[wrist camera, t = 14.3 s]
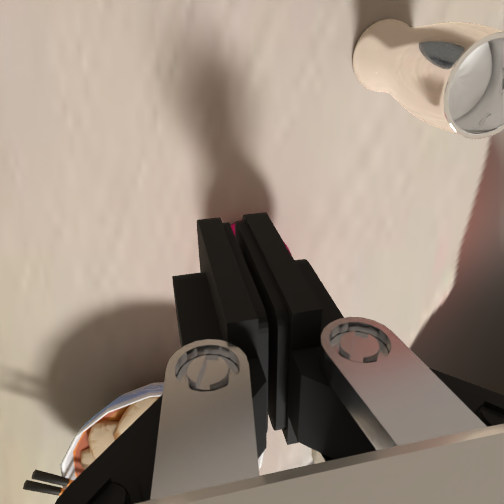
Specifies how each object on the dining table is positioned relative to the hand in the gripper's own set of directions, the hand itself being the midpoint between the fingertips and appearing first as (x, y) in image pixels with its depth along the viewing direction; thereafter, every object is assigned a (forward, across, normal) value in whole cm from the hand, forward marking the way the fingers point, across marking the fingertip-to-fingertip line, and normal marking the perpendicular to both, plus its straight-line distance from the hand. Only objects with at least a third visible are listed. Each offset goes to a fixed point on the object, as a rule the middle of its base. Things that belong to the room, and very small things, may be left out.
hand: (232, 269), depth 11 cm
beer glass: (+32, -20, 0) cm, 38 cm away
